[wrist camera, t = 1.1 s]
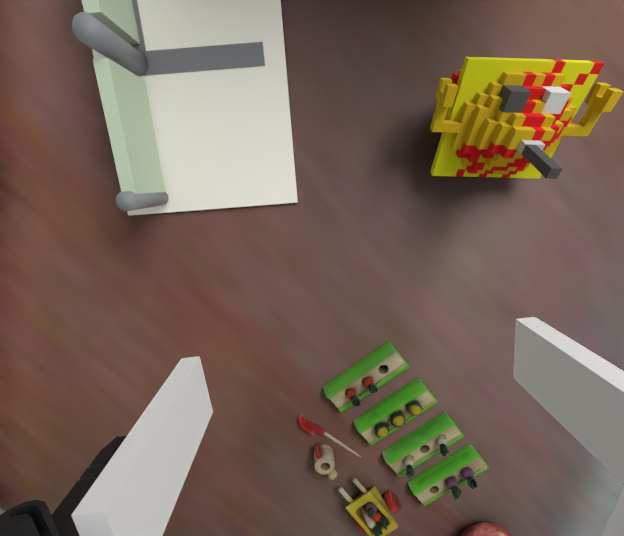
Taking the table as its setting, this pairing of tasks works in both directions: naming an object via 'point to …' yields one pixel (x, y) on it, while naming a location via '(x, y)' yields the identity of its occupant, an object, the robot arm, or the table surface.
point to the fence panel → (131, 136)
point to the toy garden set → (403, 454)
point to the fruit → (485, 530)
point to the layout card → (217, 102)
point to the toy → (514, 115)
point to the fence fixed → (111, 32)
